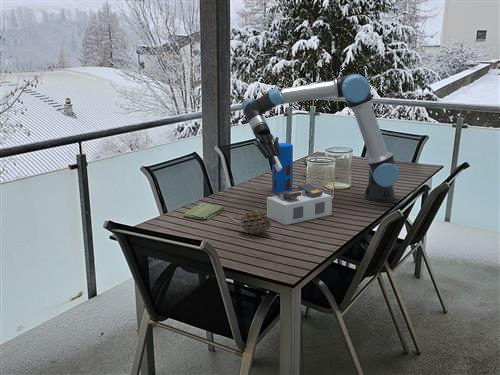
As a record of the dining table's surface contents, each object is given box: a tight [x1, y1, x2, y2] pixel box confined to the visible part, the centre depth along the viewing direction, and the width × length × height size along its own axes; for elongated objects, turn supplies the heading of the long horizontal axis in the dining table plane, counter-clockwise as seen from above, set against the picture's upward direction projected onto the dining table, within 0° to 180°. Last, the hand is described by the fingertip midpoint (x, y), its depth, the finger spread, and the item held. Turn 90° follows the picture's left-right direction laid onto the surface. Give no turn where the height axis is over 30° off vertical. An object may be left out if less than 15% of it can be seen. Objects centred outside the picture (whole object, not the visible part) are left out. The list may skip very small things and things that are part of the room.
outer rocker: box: [276, 190, 301, 198], centre depth 224 cm, size 10×6×2 cm, turn 32°
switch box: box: [266, 186, 333, 226], centre depth 229 cm, size 14×26×12 cm, turn 122°
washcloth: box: [182, 202, 225, 221], centre depth 234 cm, size 13×18×3 cm
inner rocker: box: [297, 183, 323, 197], centre depth 230 cm, size 10×6×2 cm, turn 32°
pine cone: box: [226, 209, 272, 235], centre depth 209 cm, size 22×10×10 cm, turn 62°
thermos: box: [271, 142, 294, 194], centre depth 268 cm, size 11×11×25 cm
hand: (279, 169), depth 226 cm, fingers closed
